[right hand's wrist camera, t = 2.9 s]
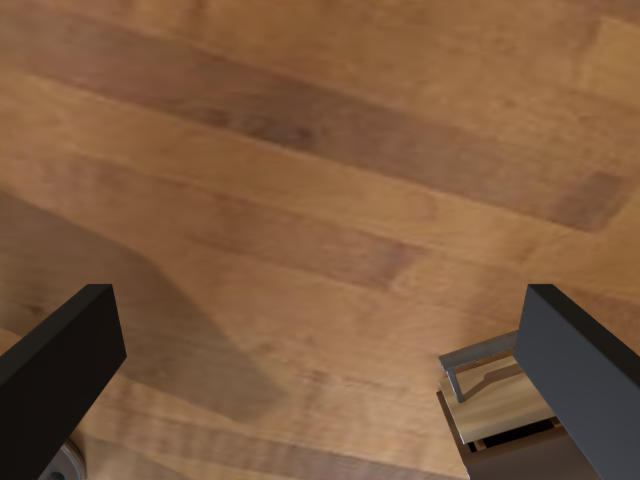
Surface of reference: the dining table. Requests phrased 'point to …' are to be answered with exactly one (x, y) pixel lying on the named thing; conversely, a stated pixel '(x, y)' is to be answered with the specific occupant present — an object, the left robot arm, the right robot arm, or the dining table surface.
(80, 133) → the dining table surface
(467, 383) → the drawer
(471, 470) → the cabinet
